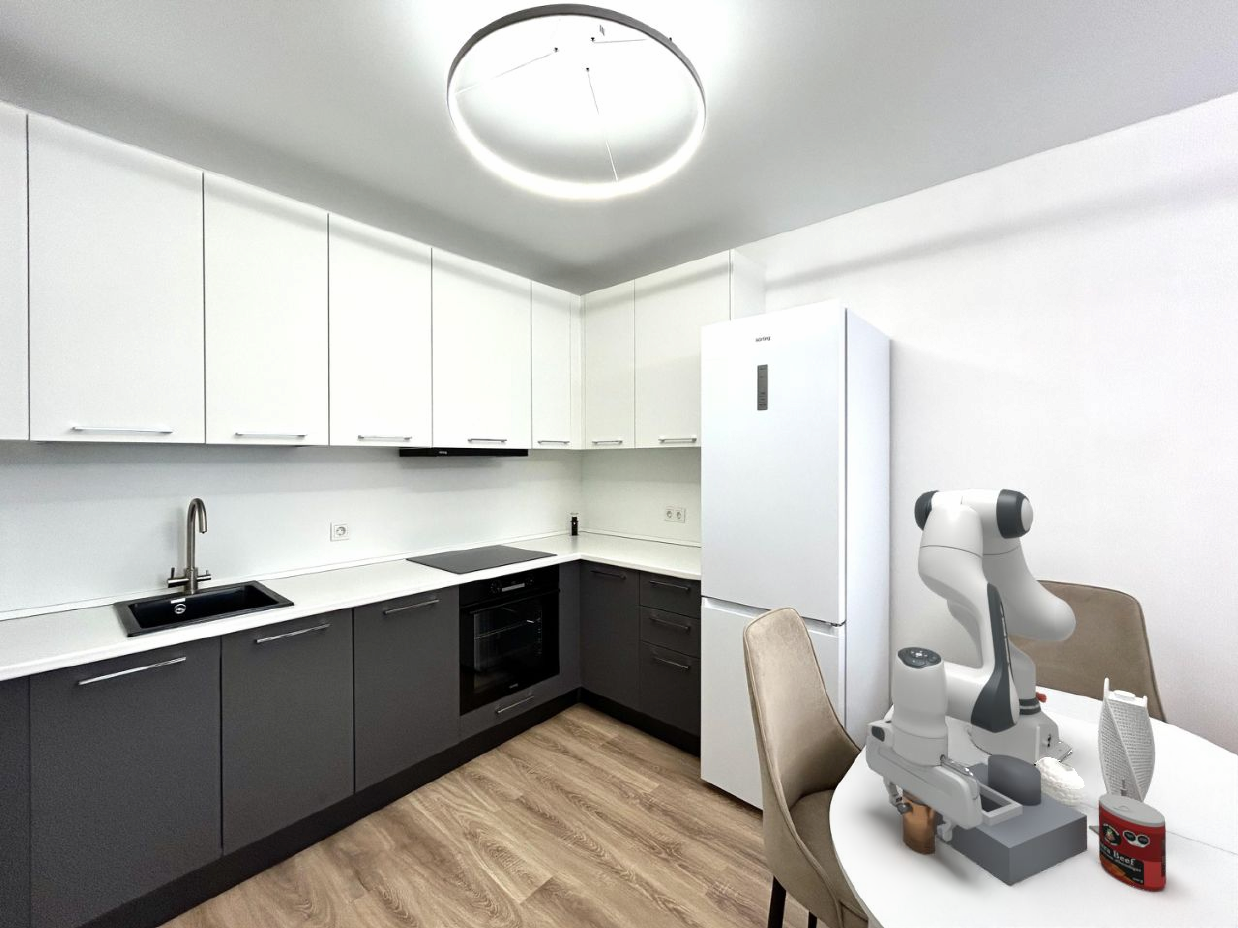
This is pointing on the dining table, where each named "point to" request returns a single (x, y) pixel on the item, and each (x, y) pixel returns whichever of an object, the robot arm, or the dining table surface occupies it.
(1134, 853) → the canned food
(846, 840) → the dining table surface
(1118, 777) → the skyscraper
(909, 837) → the spout can
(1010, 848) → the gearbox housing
